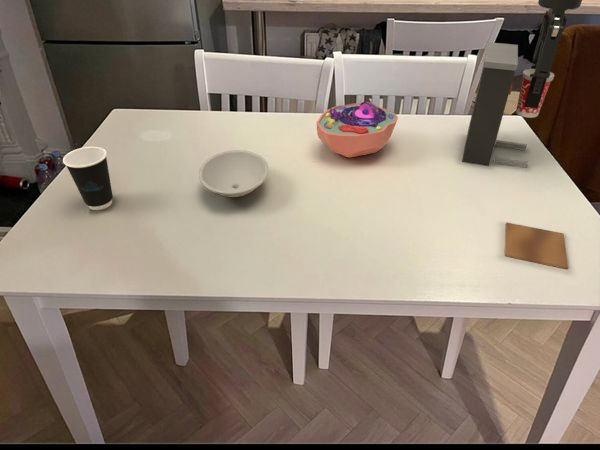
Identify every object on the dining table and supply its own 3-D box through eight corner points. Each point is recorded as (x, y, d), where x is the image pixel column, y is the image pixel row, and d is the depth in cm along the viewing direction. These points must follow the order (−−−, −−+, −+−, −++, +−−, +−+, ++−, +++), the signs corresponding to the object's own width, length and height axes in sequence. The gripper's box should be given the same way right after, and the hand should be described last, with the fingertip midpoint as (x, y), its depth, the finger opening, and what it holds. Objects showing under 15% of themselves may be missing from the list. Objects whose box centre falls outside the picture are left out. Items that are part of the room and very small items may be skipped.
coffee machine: (525, 144, 115) (556, 48, 101) (526, 172, 104) (560, 69, 90) (465, 136, 119) (487, 42, 105) (460, 162, 108) (484, 61, 94)
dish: (271, 212, 92) (269, 191, 89) (198, 216, 91) (194, 195, 88) (268, 168, 106) (267, 148, 103) (205, 170, 105) (202, 151, 102)
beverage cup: (508, 108, 106) (525, 44, 98) (535, 108, 106) (555, 44, 97) (517, 119, 101) (536, 53, 93) (546, 119, 101) (567, 53, 92)
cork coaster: (563, 234, 86) (563, 233, 86) (567, 269, 78) (568, 267, 78) (505, 223, 89) (506, 222, 88) (504, 256, 81) (505, 254, 81)
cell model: (301, 147, 114) (300, 103, 107) (364, 127, 123) (368, 86, 116) (342, 177, 103) (344, 130, 96) (409, 153, 111) (416, 108, 104)
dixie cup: (93, 219, 91) (76, 170, 84) (72, 205, 95) (54, 157, 88) (128, 201, 95) (114, 154, 89) (106, 188, 100) (92, 142, 93)
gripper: (541, -25, 96) (512, 84, 110) (545, -8, 82) (511, 115, 96) (581, -24, 94) (547, 88, 108) (593, -6, 80) (551, 120, 93)
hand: (530, 100), depth 102 cm, fingers closed on beverage cup, 6 cm apart
